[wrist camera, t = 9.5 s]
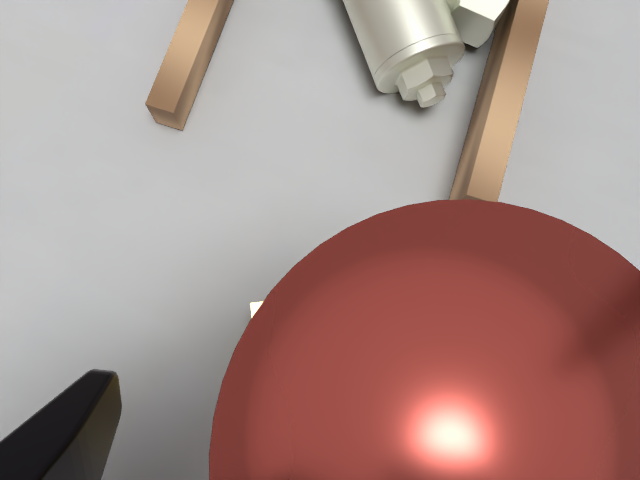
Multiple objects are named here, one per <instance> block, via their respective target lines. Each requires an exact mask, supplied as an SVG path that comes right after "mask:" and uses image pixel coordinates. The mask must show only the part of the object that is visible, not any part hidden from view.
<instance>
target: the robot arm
mask: <svg viewBox="0 0 640 480" xmlns="http://www.w3.org/2000/svg"><path fill="white" fill-rule="evenodd" d="M121 409H122V403H121V395H120V386H119V378H118V375H117V373H116V372H113V371H107V370H99V369H93V370H90V371H88V372H87V373H86V374H84V375H83V376H82V377H80V378H79V379H78V380H77V381H75V382H74V383H73V384H72V385H70V386H69V387H68V388H67V389H65V390H64V391H63V392H62V393H60V394H59V395H58V396H57V397H55V398H54V399H53V400H52V401H50V402H49V403H48V404H47V405H45V406H44V407H43V408H42V409H40V410H39V411H38V412H37V413H35V414H34V415H33V416H32V417H30V418H29V419H28V420H27V421H25V422H24V423H23V424H22V425H20V426H19V427H18V428H17V429H15V430H14V431H13V432H12V433H10V434H9V435H8V436H7V437H5V438H4V439H3V440H2V441H0V480H101V478H102V474H103V471H104V468H105V465H106V461H107V458H108V455H109V452H110V449H111V445H112V442H113V439H114V436H115V432H116V429H117V426H118V423H119V419H120V415H121Z"/></svg>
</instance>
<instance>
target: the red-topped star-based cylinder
mask: <svg viewBox="0 0 640 480" xmlns="http://www.w3.org/2000/svg"><path fill="white" fill-rule="evenodd" d="M250 304H251V316H252V318H251V320H250V322H249V324H248V326H247V328H246V329H245V331H244V333H243V335H242V337H241V339H240V341H239V342H238V344H237V346H236V348H235V350H234V353H233V356H232V358H231V361H230V363H229V366H228V368H227V371H226V374H225V376H224V379H223V381H222V385H221V389H220V393H219V397H218V402H217V406H216V410H215V414H214V418H213V427H212V435H211V444H210V452H209V480H640V271H639V270H638V269H637V268H636V267H635V266H633V265H632V264H631V263H630V262H629V261H627V260H626V259H625V258H624V257H623V256H621V255H620V254H619V253H618V252H616V251H615V250H613V249H612V248H610V247H609V246H607V245H606V244H604V243H603V242H601V241H600V240H598V239H597V238H595V237H594V236H592V235H591V234H589V233H587V232H585V231H583V230H581V229H579V228H577V227H575V226H573V225H571V224H569V223H567V222H565V221H563V220H560V219H557V218H555V217H552V216H549V215H546V214H543V213H541V212H538V211H535V210H532V209H528V208H524V207H519V206H515V205H510V204H506V203H501V202H492V201H482V200H471V199H463V200H437V201H430V202H424V203H418V204H412V205H406V206H403V207H400V208H396V209H393V210H390V211H386V212H383V213H380V214H376V215H374V216H372V217H370V218H368V219H365V220H363V221H361V222H359V223H357V224H354V225H352V226H350V227H348V228H346V229H344V230H343V231H341V232H340V233H338V234H336V235H335V236H333V237H332V238H330V239H328V240H327V241H325V242H323V243H322V244H320V245H319V246H318V247H317V248H315V249H314V250H313V251H312V252H310V253H309V254H308V255H307V256H306V257H304V258H303V259H302V260H301V261H299V262H298V263H297V264H296V265H295V266H294V267H293V268H292V269H291V270H290V271H289V272H288V273H287V274H286V275H285V276H284V277H283V278H282V280H281V281H280V282H279V283H278V284H277V285H276V286H275V287H274V288H273V289H272V290H271V292H270V293H269V294H268V296H267V297H266V299H265V300H264V301H263V302H255V303H250Z"/></svg>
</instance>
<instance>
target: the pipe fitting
mask: <svg viewBox="0 0 640 480" xmlns="http://www.w3.org/2000/svg"><path fill="white" fill-rule="evenodd" d="M509 1H510V0H343V2H344V5H345V7H346V10H347V12H348V15H349V17H350V20H351V23H352V25H353V28H354V30H355V33H356V35H357V38H358V41H359V43H360V46H361V48H362V51H363V53H364V56H365V59H366V61H367V64H368V66H369V69H370V71H371V74H372V77H373V79H374V82H375V85H376V87H377V89H378V90H379V91H380V92H383V93H396V92H399V91H400V94H401V96H402V99H403V100H407V101H413V100H418V102H419V105H420V107H429V106H432V105H435V104H437V103H438V102H440V101H442V100H443V99H444V98H445V95H446V93H445V91H444V87H445V86H446V85H448V84H449V82H450V81H451V79H452V76H453V71H452V69H451V68H452V67H453V66H454V65H455V64H457V62H458V61H459V60H460V59H461V58H462V56H463V55H464V52H465V46H464V43H463V42H465V43H467V44H469V45H471V46H474V47H476V48H478V47H480V46H481V45H482V44H484V43H485V42H486V41H487V40H488V38H489V37H490V35H491V33H492V32H493V30H494V28H495V27H496V25H497V23H498V21H499V19H500V18H501V16H502V14H503V12H504V10H505V8H506V7H507V5H508V3H509Z"/></svg>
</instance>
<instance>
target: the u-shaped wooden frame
mask: <svg viewBox="0 0 640 480" xmlns="http://www.w3.org/2000/svg"><path fill="white" fill-rule="evenodd" d="M233 1H234V0H188V2H187V5H186V7H185V10H184V12H183V14H182V17H181V19H180V22H179V24H178V26H177V29H176V31H175V34H174V36H173V38H172V41H171V43H170V46H169V48H168V50H167V53H166V55H165V58H164V60H163V62H162V65H161V67H160V70H159V72H158V74H157V77H156V79H155V82H154V84H153V86H152V89H151V91H150V94H149V96H148V99H147V101H146V103H145V105H146V106H147V108H148V110H149V111H150V113H151V115H152V116H153V118H154V119H155V121H156V122H157V123H160V124H163V125H166V126H169V127H173V128H176V129H179V130H183V127H184V125H185V122H186V120H187V117H188V115H189V112H190V110H191V107H192V105H193V102H194V100H195V97H196V95H197V92H198V89H199V87H200V84H201V82H202V79H203V77H204V74H205V72H206V69H207V67H208V64H209V62H210V59H211V57H212V54H213V52H214V49H215V47H216V44H217V41H218V39H219V36H220V34H221V31H222V29H223V26H224V24H225V21H226V19H227V16H228V14H229V11H230V9H231V6H232V4H233ZM548 2H549V0H510V1H509V3H508V5H507V7H506V8H505V10H504V12H503V14H502V16H501V18H500V19H499V21H498V24H497V27H496V31H495V35H494V38H493V42H492V45H491V49H490V53H489V56H488V60H487V64H486V67H485V71H484V74H483V78H482V82H481V85H480V89H479V93H478V96H477V100H476V103H475V107H474V111H473V114H472V118H471V122H470V125H469V129H468V132H467V136H466V140H465V143H464V147H463V151H462V154H461V158H460V161H459V165H458V169H457V172H456V176H455V180H454V183H453V187H452V190H451V194H450V198H449V200H463V199H471V200H482V201H492V202H497V201H498V198H499V194H500V190H501V186H502V182H503V178H504V174H505V170H506V166H507V162H508V158H509V155H510V151H511V147H512V143H513V139H514V135H515V131H516V127H517V123H518V119H519V115H520V112H521V108H522V104H523V100H524V96H525V92H526V88H527V84H528V80H529V76H530V72H531V69H532V65H533V61H534V57H535V53H536V49H537V45H538V41H539V37H540V33H541V29H542V26H543V22H544V18H545V14H546V10H547V6H548Z"/></svg>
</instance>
